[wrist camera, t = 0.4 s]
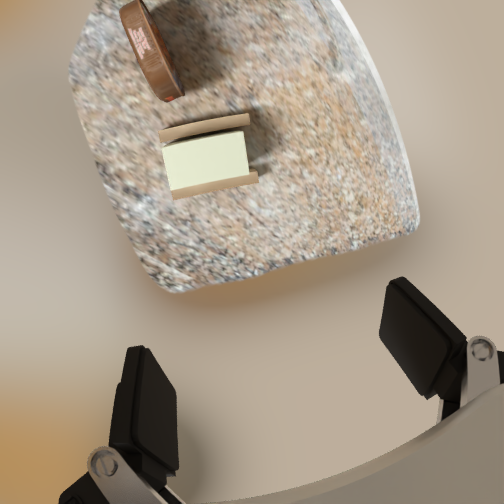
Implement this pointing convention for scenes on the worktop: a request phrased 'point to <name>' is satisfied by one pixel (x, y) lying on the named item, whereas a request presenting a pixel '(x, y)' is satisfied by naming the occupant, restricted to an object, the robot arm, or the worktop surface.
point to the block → (205, 159)
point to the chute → (202, 128)
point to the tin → (151, 51)
